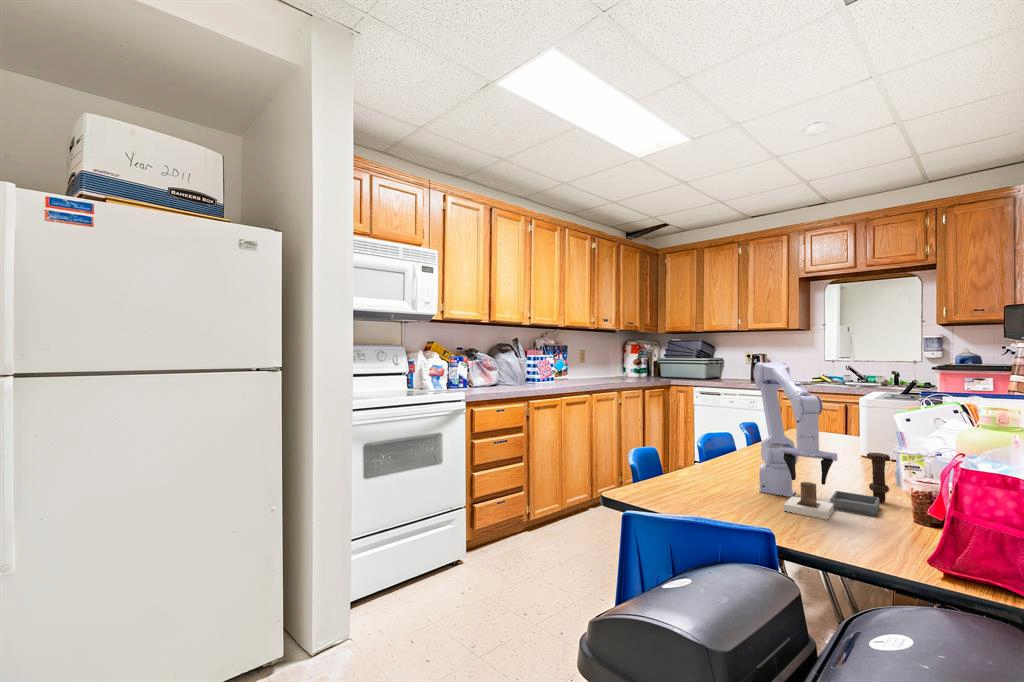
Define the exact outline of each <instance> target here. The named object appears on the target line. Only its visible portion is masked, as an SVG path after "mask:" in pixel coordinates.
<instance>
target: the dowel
mask: <svg viewBox="0 0 1024 682" xmlns="http://www.w3.org/2000/svg"><path fill="white" fill-rule="evenodd" d="M800 498H801V505H803V506H809V507H814V508H817V501H818V499H817V484H816V483H814V482H811V481H803V482H802V481H801V482H800Z"/></svg>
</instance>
